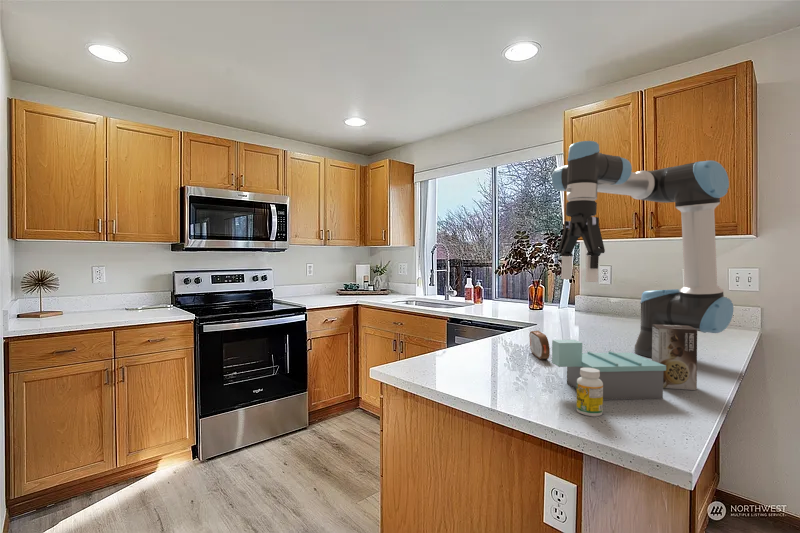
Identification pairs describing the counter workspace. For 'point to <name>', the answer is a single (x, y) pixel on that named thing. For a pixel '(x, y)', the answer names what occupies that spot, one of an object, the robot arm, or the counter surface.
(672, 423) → the counter surface
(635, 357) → the lid
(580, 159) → the robot arm
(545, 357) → the tin
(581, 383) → the supplement bottle
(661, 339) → the coffee box
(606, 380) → the tub
